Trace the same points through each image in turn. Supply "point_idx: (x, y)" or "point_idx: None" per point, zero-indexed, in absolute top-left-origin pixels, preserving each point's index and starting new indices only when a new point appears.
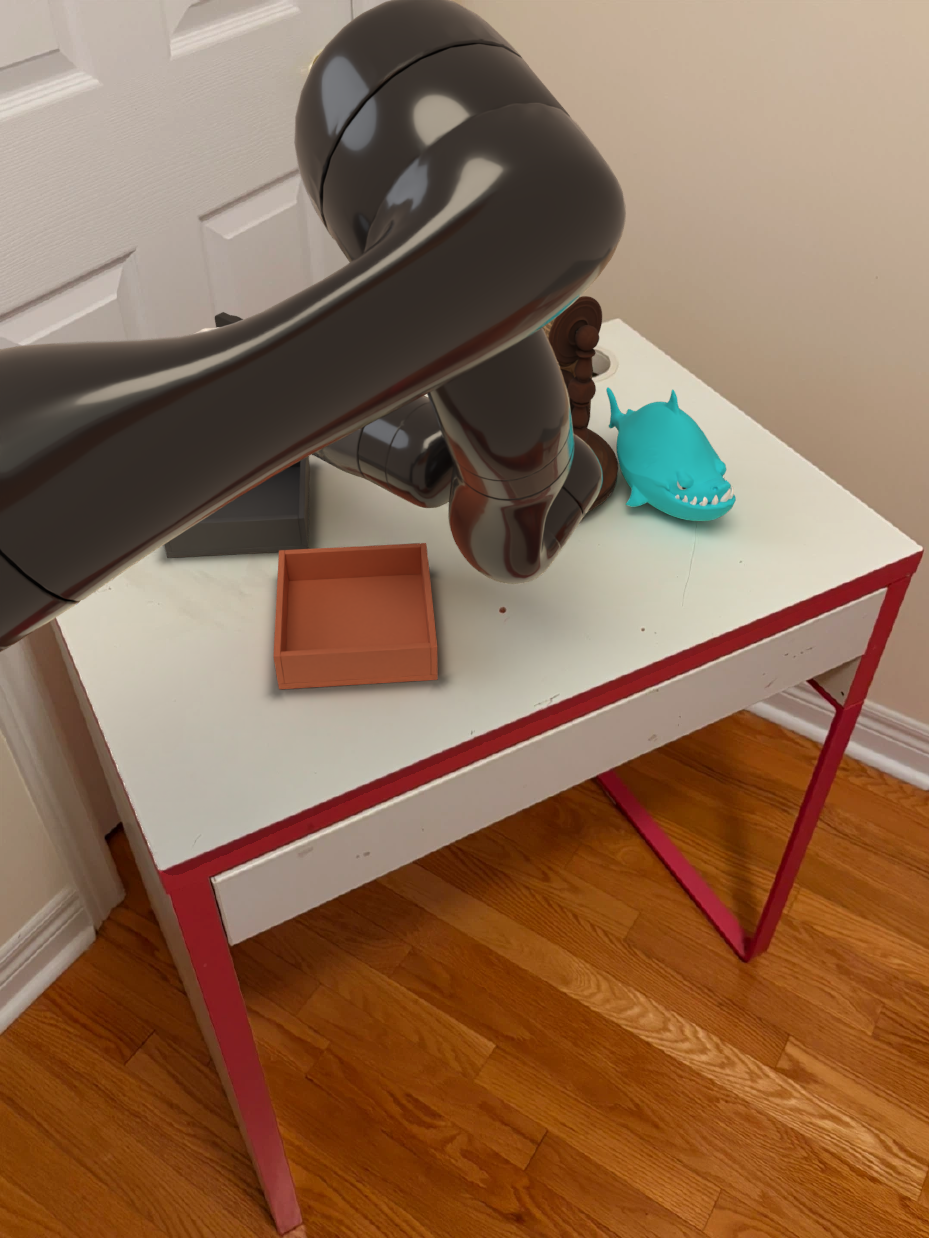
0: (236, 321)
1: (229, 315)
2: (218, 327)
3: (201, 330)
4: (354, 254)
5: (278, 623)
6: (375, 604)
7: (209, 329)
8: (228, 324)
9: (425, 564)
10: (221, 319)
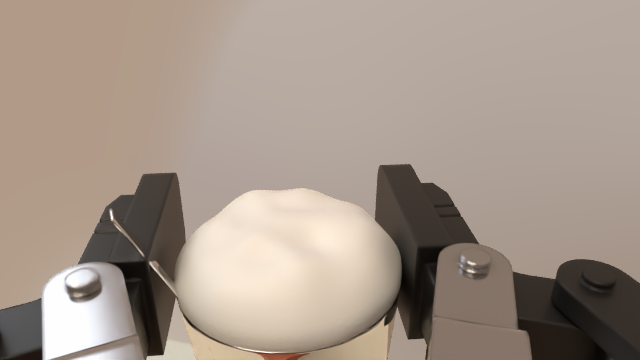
0: (416, 207)
1: (415, 180)
2: (347, 203)
3: (286, 190)
4: None
5: None
6: None
7: (308, 197)
8: (392, 207)
9: None
10: (385, 183)
